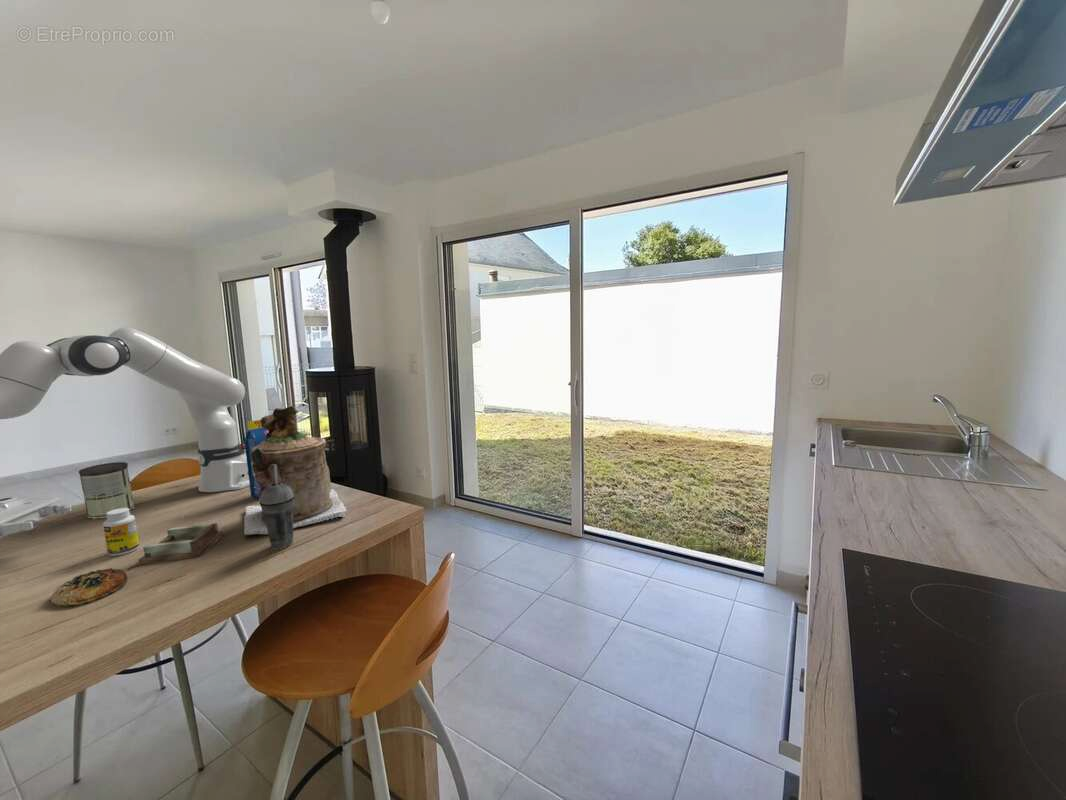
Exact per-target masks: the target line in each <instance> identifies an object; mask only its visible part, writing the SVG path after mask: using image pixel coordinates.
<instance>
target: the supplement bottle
mask: <svg viewBox="0 0 1066 800" xmlns="http://www.w3.org/2000/svg"><path fill="white" fill-rule="evenodd" d="M106 516H107V518H106V520H105V521H104V522H103V523H102V526H103V531H104V538H105V544H106V551H107V554H108V555H109V556H113V557H117V556H116V555H119V556H123V555H122V554H124V555H126V553H127V554H130V553H132V551H133V552H135V551H136V550H137V549H139V547H140V541H139V534H138V528H137V527H138V526H137V522H136V521H137V520H136V516H135V515H133V514H131V511H129V508H120V509H115V510H112V511H109V512H107V513H106ZM134 550H135V551H134ZM129 552H130V553H129Z"/></svg>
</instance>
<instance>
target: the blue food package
mask: <svg viewBox="0 0 1066 800" xmlns="http://www.w3.org/2000/svg"><path fill="white" fill-rule="evenodd" d="M247 429H248V430H247V432H246V435H245V436H244V444H245V449H244V451H245V453H246V458H247V467H248V475H249V483H250V485H249V489H250V490H249V491H250V497H251V498H254V499H258V500H259V494H260V485H259V484H258V483H257V482H256V479H255V478H254V475H255V472H254V471H253V467H252V466H253V462H252V461H251V458H250V452H251V449H253V448H254V447H256V446H258V445H259V444H260V443H261V442H262V441H264V440H265V439H266V435H267V433H268V432H269V430H267V429H264V428H263V427H262V424H261V419H256V420H251V421H250V420H249V421H247Z"/></svg>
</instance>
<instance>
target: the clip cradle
mask: <svg viewBox="0 0 1066 800" xmlns="http://www.w3.org/2000/svg"><path fill="white" fill-rule="evenodd" d="M223 533H224V530H219V527H218V523H217V522H215V523H208V524H207V523H206V524H199V525H188V526H186V525H185V526H179V527H171V528H169V529H167V536H166V537H164V538H163V539H162V540H160V541H159V542H158V543H153V544H150V543H149V544H145V545H144V546H143V547H142V548H143V552H144V553H143V554H144V555H143V556H141V558H139V559H138V564H139V563H143V564H148V563H147V562H151V563H158V561H160V562H166V561H165V560H168V561H174V559H176V560H182V559H183V558H185V559H192V558H191V557H193V558H198V557H197V556H200V557H201V556H203V555H204V554H205V553H206V550H207V549H208V548H209V547H210V546H211V545H212V544H213V543H214V542H215V541H216V540H217V539H218V538H219V537H220V536H222V535H223ZM224 534H225V533H224ZM223 536H224V535H223ZM223 536H222V537H223ZM219 539H220V538H219ZM219 539H218V540H219ZM218 540H217V541H218ZM217 541H216V542H217ZM216 542H215V543H216ZM215 543H214V544H215ZM214 544H213V545H214ZM213 545H212V546H213ZM212 546H211V547H212ZM211 547H210V548H211ZM210 548H209V549H210ZM209 549H208V550H209ZM208 550H207V551H208ZM183 560H184V559H183Z"/></svg>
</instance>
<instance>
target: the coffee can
mask: <svg viewBox="0 0 1066 800" xmlns="http://www.w3.org/2000/svg"><path fill="white" fill-rule="evenodd" d="M128 465H129V463H128V462H124V461H123V462H120V461H118V462H117V461H116V462H115V461H114V462H107V463H100V464H96V465H91V466H88V467H84V468H82V469H80V470H78V474H79V476H80V477H79V478H80V482H81V488H82V493H83V498H84V499H83V500H84V503H85V508H86V509H85V510H86V514H87V516H88V517H90V518H101V517H107V516H106V513H107V512H109V511H112V510H115V509H120V508H129V510H131V509H133V508H134V509H135V503H134V499H133V492H132V487H131V486H132V485H131V480H130V474H129V473H130V472H129V469H128ZM103 499H104V500H103ZM134 509H133V510H134ZM131 511H132V510H131ZM87 516H86V517H87Z"/></svg>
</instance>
